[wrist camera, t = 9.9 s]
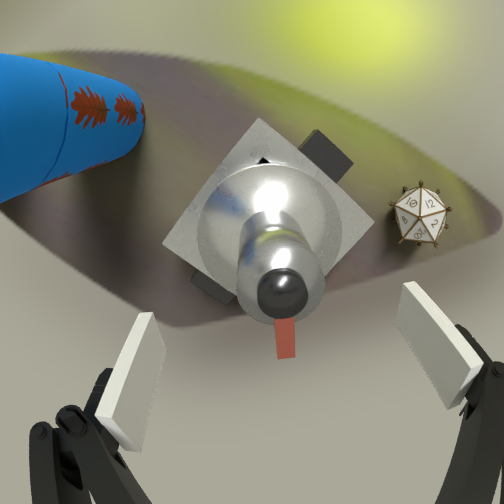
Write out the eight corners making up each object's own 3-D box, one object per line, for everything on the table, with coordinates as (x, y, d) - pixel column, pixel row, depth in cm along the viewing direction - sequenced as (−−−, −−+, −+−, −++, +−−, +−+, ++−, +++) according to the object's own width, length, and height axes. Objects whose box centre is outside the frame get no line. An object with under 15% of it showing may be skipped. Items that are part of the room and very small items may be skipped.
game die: (400, 210, 39) (428, 267, 34) (364, 201, 36) (394, 266, 31) (438, 173, 33) (474, 231, 28) (407, 155, 29) (450, 222, 24)
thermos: (151, 152, 32) (0, 205, 9) (82, 171, 33) (-67, 238, 10) (141, 71, 28) (-6, 15, 5) (72, 96, 28) (-82, 99, 5)
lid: (195, 168, 27) (148, 202, 14) (325, 155, 27) (392, 179, 14) (215, 283, 33) (197, 379, 19) (328, 270, 32) (372, 358, 19)
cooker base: (168, 234, 37) (147, 265, 28) (272, 103, 30) (280, 93, 22) (257, 296, 40) (259, 338, 32) (361, 183, 34) (393, 200, 26)
